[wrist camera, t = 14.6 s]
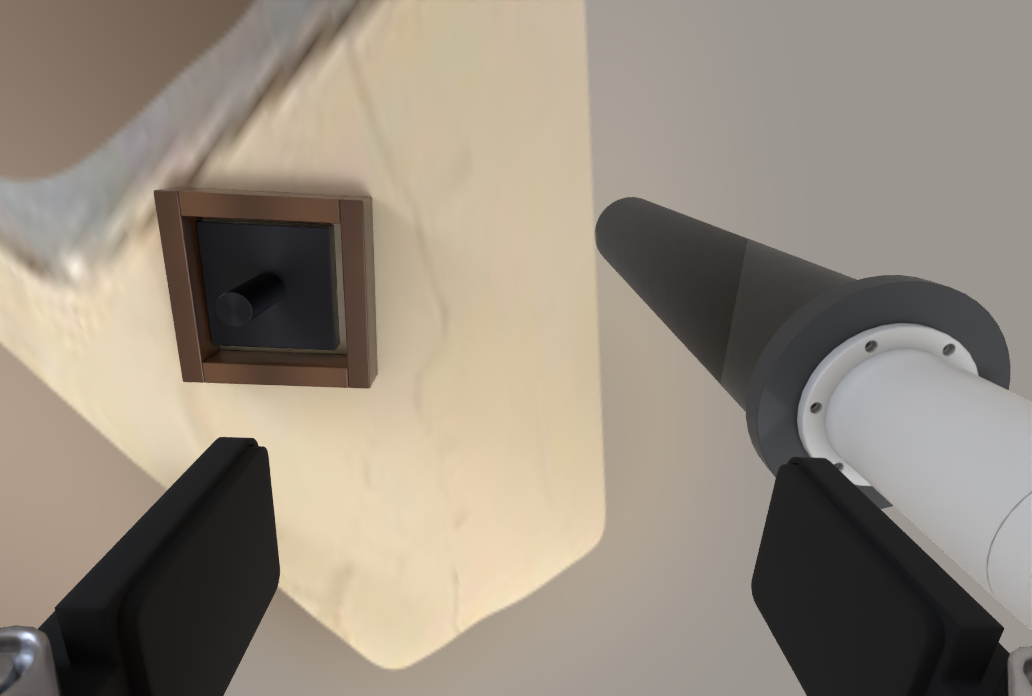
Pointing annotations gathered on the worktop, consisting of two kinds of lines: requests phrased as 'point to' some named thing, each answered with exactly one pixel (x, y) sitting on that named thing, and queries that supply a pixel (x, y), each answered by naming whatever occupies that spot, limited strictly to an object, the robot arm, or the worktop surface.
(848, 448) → the robot arm
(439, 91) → the worktop surface
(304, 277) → the peg stand
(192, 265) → the walnut frame
